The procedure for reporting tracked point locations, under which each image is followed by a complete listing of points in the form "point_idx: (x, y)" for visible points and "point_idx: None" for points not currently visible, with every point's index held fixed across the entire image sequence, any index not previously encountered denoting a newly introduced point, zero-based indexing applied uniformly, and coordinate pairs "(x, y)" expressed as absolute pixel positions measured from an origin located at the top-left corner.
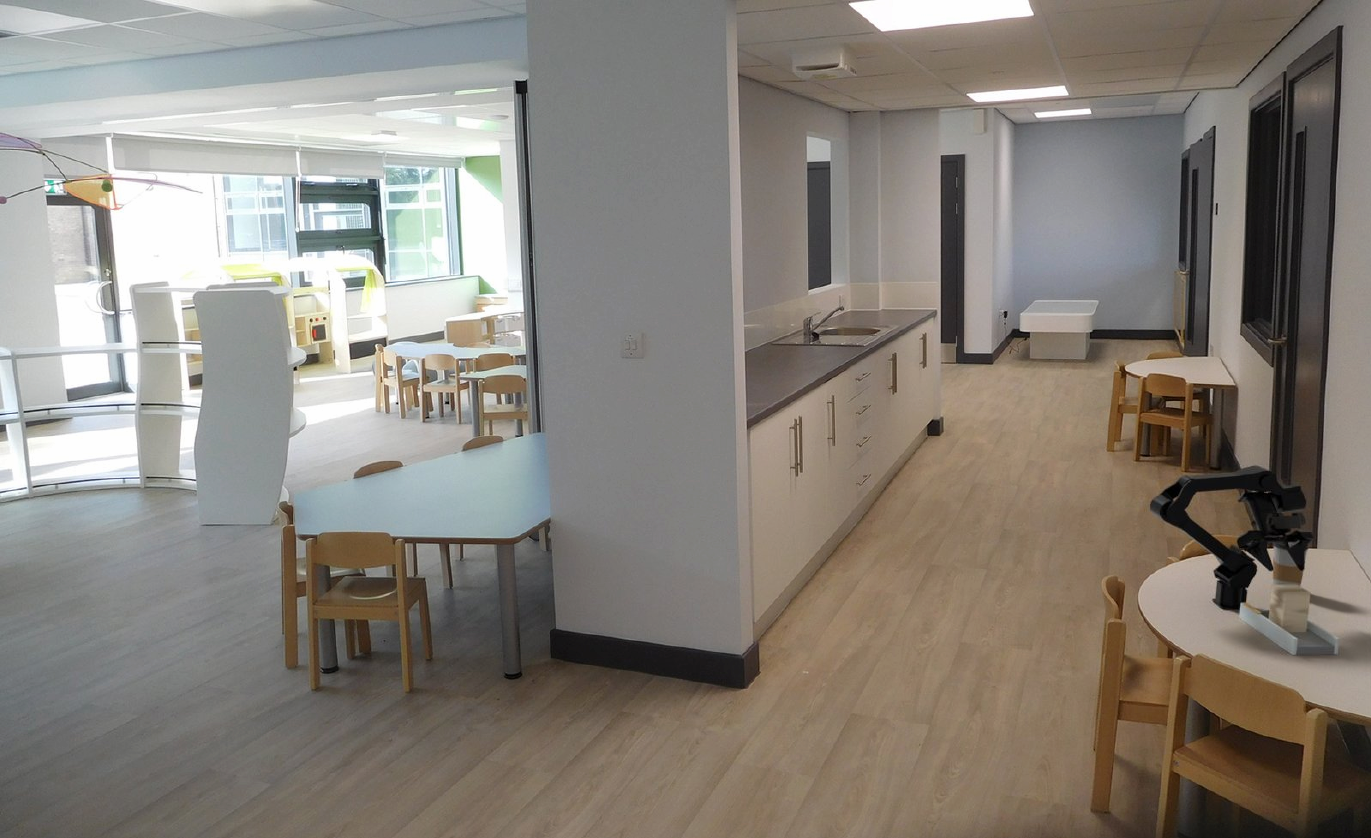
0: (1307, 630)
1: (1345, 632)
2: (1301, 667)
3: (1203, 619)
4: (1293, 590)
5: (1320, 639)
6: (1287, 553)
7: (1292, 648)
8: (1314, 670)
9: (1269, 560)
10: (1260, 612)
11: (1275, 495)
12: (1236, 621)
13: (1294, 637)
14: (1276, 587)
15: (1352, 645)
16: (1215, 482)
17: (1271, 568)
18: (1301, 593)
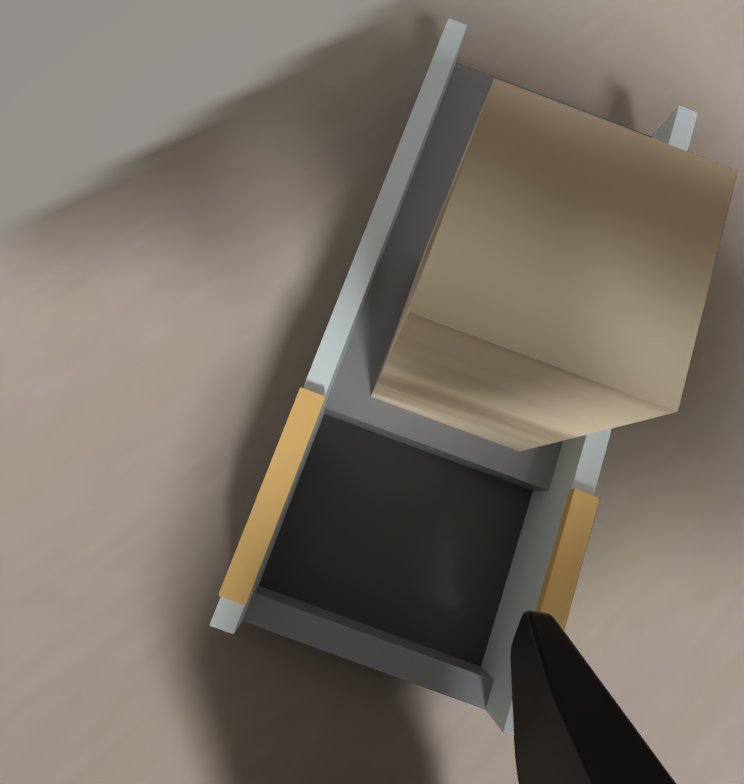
0: (391, 272)
1: (91, 266)
2: (714, 65)
3: (731, 757)
4: (604, 190)
5: (441, 153)
6: None
7: None
8: (684, 23)
9: (619, 748)
10: (577, 491)
11: None
12: None
13: (681, 125)
14: (695, 331)
15: (243, 132)
16: None
17: (560, 633)
18: (579, 117)
